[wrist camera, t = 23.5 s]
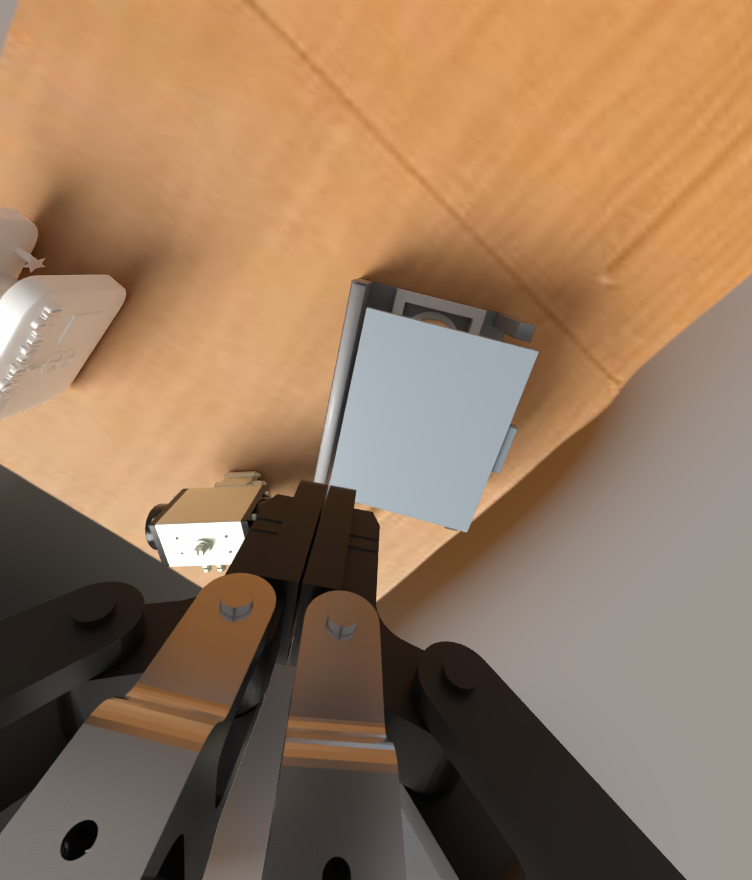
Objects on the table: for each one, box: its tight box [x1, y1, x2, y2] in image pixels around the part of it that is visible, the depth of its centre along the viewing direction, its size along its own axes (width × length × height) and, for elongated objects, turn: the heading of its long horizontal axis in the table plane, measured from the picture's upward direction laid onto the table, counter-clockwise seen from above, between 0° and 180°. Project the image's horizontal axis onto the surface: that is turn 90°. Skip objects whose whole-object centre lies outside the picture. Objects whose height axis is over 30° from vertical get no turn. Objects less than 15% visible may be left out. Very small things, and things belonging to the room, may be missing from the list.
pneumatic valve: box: [145, 471, 271, 572], centre depth 39 cm, size 6×12×12 cm, turn 94°
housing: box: [313, 278, 536, 531], centre depth 36 cm, size 19×14×8 cm
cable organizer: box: [0, 207, 126, 420], centre depth 33 cm, size 15×11×12 cm
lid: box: [328, 307, 539, 532], centre depth 32 cm, size 16×13×1 cm
